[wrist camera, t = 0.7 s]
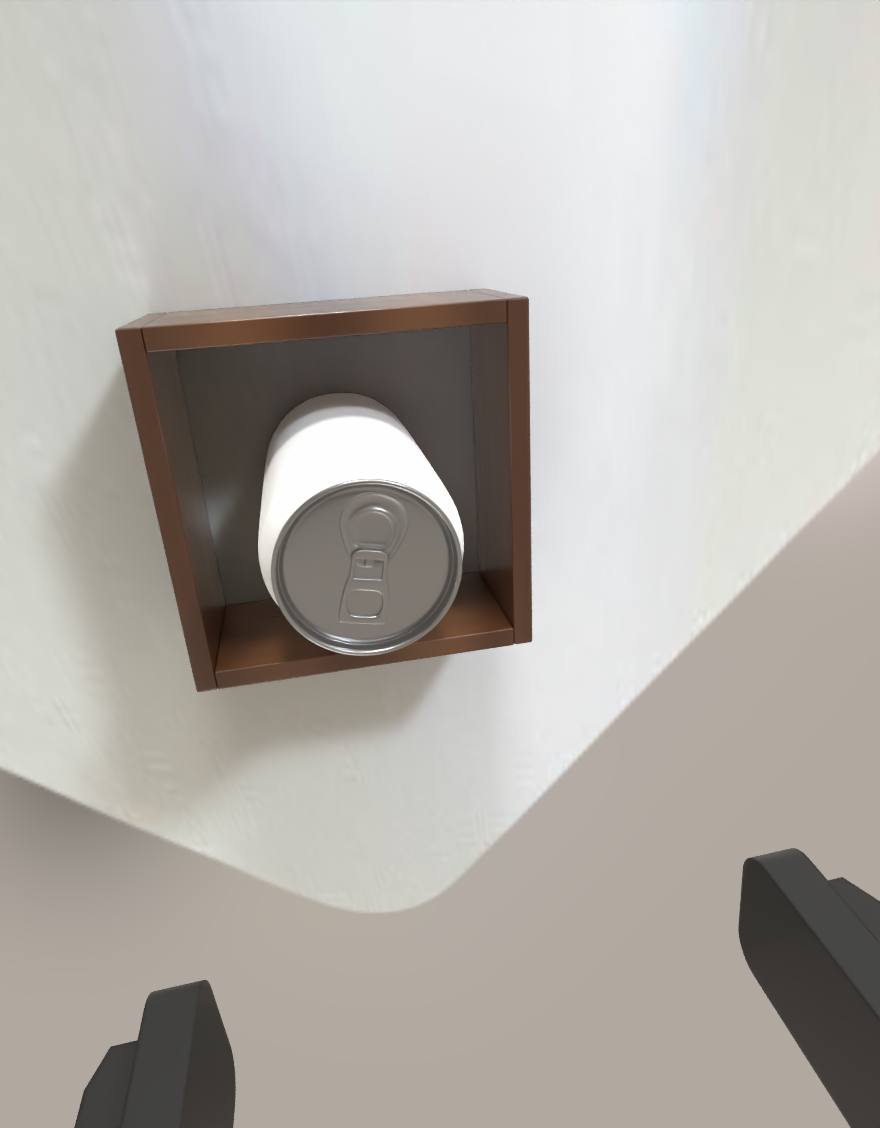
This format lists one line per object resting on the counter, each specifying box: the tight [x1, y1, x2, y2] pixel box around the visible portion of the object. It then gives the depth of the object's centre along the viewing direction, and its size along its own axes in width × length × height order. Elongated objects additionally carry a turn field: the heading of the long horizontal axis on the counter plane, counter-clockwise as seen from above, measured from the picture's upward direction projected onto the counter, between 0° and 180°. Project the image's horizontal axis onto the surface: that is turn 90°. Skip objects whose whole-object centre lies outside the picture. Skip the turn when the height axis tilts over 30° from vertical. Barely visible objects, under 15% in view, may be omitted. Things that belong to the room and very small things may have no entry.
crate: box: [115, 289, 532, 692], centre depth 30 cm, size 14×14×6 cm
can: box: [258, 393, 464, 656], centre depth 27 cm, size 6×6×12 cm
